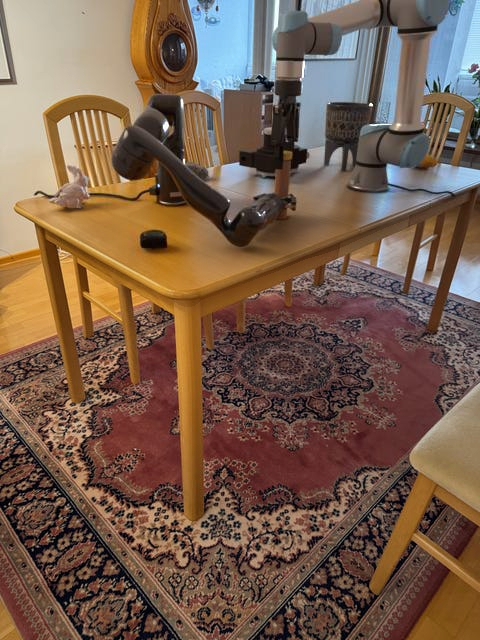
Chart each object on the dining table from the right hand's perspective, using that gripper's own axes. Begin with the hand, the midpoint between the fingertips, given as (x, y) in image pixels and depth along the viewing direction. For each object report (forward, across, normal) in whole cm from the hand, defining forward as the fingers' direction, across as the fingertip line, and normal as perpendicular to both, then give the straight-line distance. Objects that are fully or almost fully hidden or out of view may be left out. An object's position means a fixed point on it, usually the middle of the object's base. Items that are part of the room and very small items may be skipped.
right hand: (283, 166), depth 135 cm
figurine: (+15, +28, -61) cm, 69 cm away
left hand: (+9, -3, 0) cm, 10 cm away
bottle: (+15, 0, 0) cm, 15 cm away
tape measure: (+15, +42, -15) cm, 47 cm away
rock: (+15, -25, -51) cm, 59 cm away
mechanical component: (+15, -56, -27) cm, 64 cm away
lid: (-4, 0, 0) cm, 4 cm away
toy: (+15, -108, +22) cm, 111 cm away
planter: (+15, -85, -10) cm, 87 cm away
